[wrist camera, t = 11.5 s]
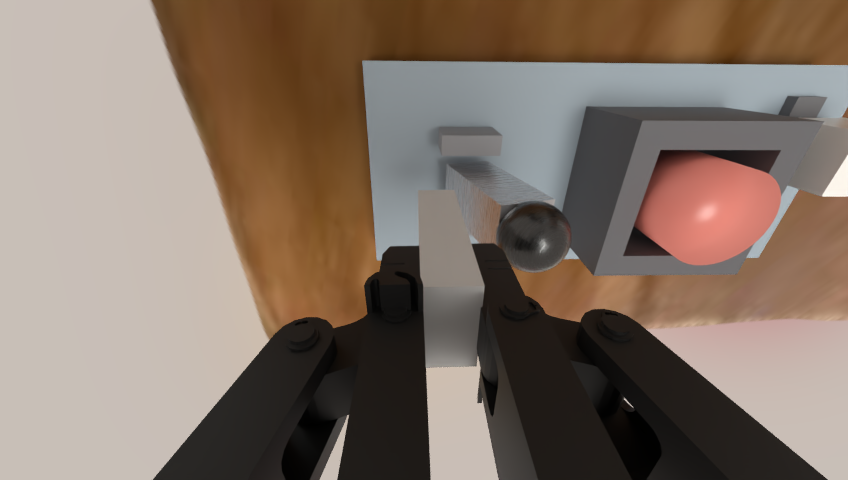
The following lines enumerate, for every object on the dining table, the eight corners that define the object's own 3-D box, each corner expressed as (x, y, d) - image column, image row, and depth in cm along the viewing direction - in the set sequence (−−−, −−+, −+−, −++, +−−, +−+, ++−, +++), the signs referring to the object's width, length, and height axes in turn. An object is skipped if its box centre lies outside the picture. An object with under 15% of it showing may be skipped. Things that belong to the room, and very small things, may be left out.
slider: (772, 117, 17) (863, 131, 14) (844, 117, 18) (950, 131, 14) (745, 171, 19) (821, 196, 15) (811, 171, 19) (901, 196, 16)
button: (616, 140, 18) (692, 169, 13) (698, 140, 18) (803, 169, 13) (594, 216, 20) (652, 265, 15) (667, 216, 20) (748, 265, 15)
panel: (369, 60, 19) (343, 59, 12) (811, 65, 20) (1028, 66, 13) (380, 239, 25) (367, 308, 18) (722, 237, 26) (839, 303, 19)
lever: (443, 160, 17) (526, 223, 10) (490, 157, 18) (597, 213, 11) (441, 209, 18) (514, 292, 12) (485, 204, 19) (578, 280, 12)
